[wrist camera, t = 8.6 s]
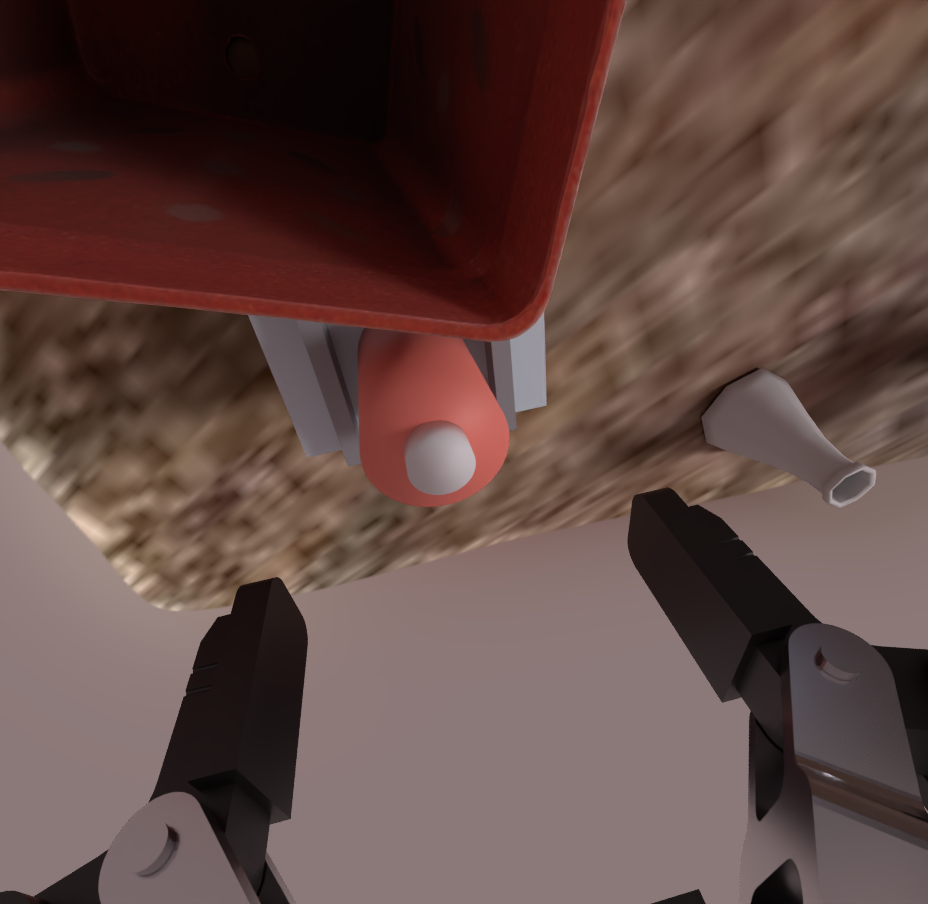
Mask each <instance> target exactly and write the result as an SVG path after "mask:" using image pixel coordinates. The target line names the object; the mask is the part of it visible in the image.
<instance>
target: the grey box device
mask: <svg viewBox="0 0 928 904" xmlns="http://www.w3.org/2000/svg"><path fill="white" fill-rule="evenodd" d="M248 316H249V319H250V321H251V324H252V326H253V328H254V331H255V333H256V336H257V338H258V340H259V343H260V345H261V348H262V350H263V352H264V355H265V357H266V360H267V362H268V364H269V367H270V369H271V372H272V374H273V376H274V379H275V381H276V384H277V386H278V389H279V391H280V393H281V396H282V398H283V401H284V403H285V405H286V408H287V410H288V413H289V415H290V417H291V420H292V422H293V425H294V427H295V429H296V432H297V434H298V437H299V439H300V441H301V444H302V446H303V449H304V451H305V453H306V456H307V457H311V456H316V455H320V454H325V453H329V452H334V451H339V450H342V451H343V454H344V456H345V459H346V462H347V465H348V466H352V465H357V464H361V460H360V451H359V403H358V344H359V340H360V337H361V334H362V332H363V330H364V328H361V327H351V326H341V325H333V324H325V323H317V322H309V321H301V320H293V319H283V318H273V317H263V316H253V315H248ZM463 341H464V343H465V345H466V347H467V348H468V350H469V352H470V354H471V356H472V357H473V359H474V361H475V363H476V365H477V366H478V368H479V370H480V372H481V373H482V375H483V377H484V379H485V381H486V382H487V384H488V386H489V388H490V390H491V391H492V393H493V395H494V397H495V399H496V400H497V402H498V404H499V406H500V408H501V409H502V411H503V413H504V415H505V417H506V420H507V423H508V428H509V431H511V430H516V429H517V428H516V414H515V412H519V411H523V410H528V409H532V408H537V407H542V406H546V368H545V331H544V312H543V314H542V315H541V317H540V318H539V319H538V321H537V322H536V323H535V324H534V325H533V326H532V327H531V328H530V329H529V330H527V331H526V332H525V333H523V334H522V335H520V336H518V337H516V338H513V339H510V340H506V341H497V342H485V341H477V340H468V339H463Z"/></svg>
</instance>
